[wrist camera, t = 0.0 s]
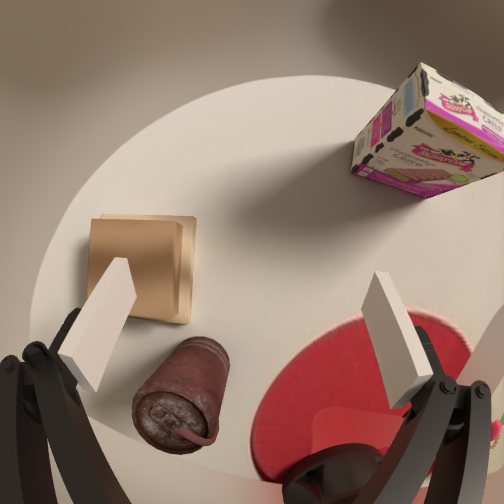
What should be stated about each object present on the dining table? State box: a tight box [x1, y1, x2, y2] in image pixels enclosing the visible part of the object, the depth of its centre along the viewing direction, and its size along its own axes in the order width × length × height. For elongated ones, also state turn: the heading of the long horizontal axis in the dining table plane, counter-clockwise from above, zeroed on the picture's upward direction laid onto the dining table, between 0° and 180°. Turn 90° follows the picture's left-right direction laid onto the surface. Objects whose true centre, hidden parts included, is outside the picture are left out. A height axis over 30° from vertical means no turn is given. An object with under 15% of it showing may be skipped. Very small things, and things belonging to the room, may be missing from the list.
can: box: [132, 337, 230, 455], centre depth 23 cm, size 6×6×14 cm
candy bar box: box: [351, 63, 504, 199], centre depth 22 cm, size 11×5×16 cm, turn 78°
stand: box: [87, 214, 196, 324], centre depth 28 cm, size 11×11×5 cm
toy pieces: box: [490, 414, 504, 449], centre depth 27 cm, size 12×11×4 cm
